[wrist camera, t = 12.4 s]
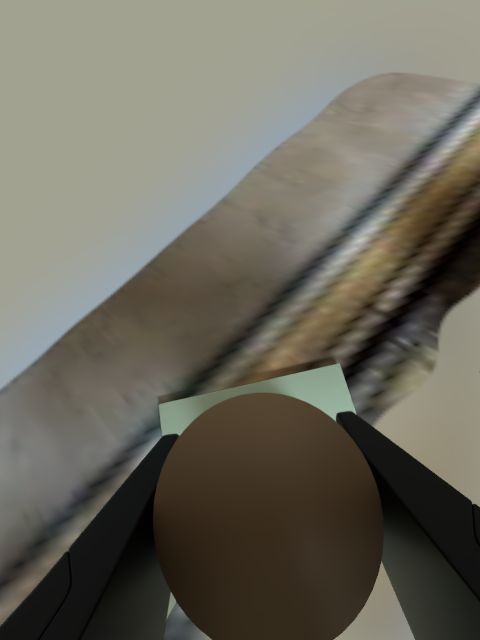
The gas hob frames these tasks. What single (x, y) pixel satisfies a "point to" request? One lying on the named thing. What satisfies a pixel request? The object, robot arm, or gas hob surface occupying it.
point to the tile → (309, 386)
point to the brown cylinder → (268, 521)
